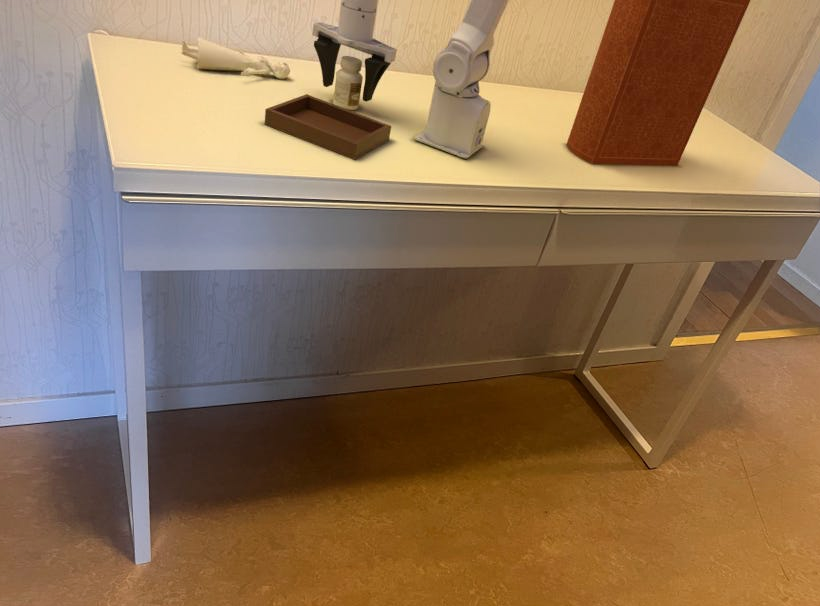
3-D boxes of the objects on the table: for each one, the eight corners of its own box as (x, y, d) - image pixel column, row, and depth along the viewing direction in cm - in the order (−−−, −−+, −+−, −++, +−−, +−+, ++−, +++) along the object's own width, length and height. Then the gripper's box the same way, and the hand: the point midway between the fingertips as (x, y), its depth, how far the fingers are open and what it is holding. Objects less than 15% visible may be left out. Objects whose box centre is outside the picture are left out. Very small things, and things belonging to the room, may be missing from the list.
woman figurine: (183, 25, 119) (289, 49, 126) (181, 51, 122) (285, 74, 129) (181, 45, 111) (294, 70, 118) (179, 73, 113) (290, 96, 120)
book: (650, 148, 140) (717, -15, 123) (677, 165, 135) (751, -2, 117) (561, 144, 129) (621, -35, 112) (587, 164, 124) (653, -21, 106)
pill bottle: (354, 112, 118) (360, 65, 113) (329, 105, 118) (335, 58, 113) (361, 105, 121) (368, 60, 117) (337, 98, 121) (343, 52, 117)
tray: (389, 140, 111) (391, 125, 110) (354, 159, 102) (356, 144, 101) (305, 108, 114) (306, 93, 113) (264, 124, 105) (265, 108, 104)
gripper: (306, -5, 108) (298, 83, 117) (388, 23, 106) (374, 111, 114) (328, -9, 114) (319, 76, 122) (407, 18, 111) (392, 102, 119)
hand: (347, 92), depth 118 cm, fingers open, 7 cm apart
